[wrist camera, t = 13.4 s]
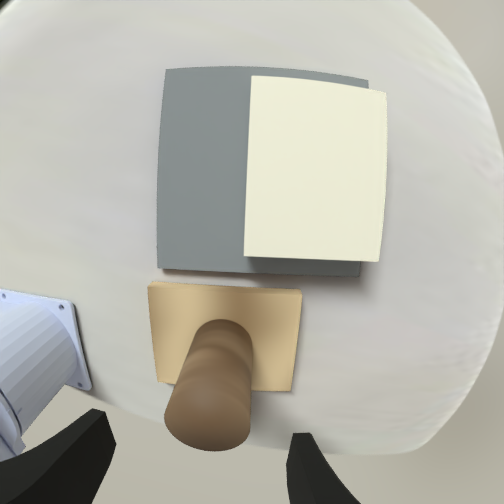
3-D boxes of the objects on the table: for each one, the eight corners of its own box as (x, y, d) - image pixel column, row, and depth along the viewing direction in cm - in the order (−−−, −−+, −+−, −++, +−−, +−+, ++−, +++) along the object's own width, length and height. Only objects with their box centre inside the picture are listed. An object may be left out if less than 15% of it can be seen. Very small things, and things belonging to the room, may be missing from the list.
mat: (159, 266, 17) (157, 268, 17) (167, 71, 15) (165, 69, 15) (356, 274, 17) (358, 276, 17) (366, 82, 15) (368, 80, 14)
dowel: (195, 367, 18) (171, 446, 11) (191, 317, 17) (157, 390, 10) (252, 369, 18) (249, 453, 11) (252, 319, 17) (250, 397, 10)
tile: (243, 256, 15) (378, 261, 15) (251, 75, 13) (386, 92, 13) (245, 246, 17) (364, 252, 17) (252, 89, 15) (371, 102, 15)
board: (161, 373, 19) (157, 381, 18) (152, 281, 18) (147, 286, 17) (289, 382, 19) (290, 391, 18) (299, 289, 18) (302, 294, 17)
